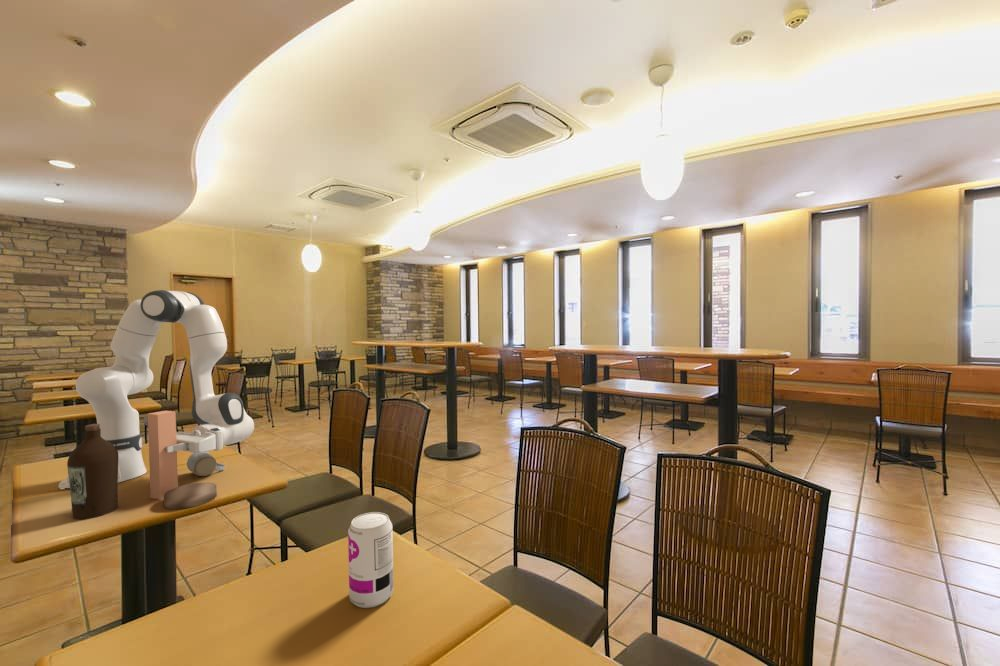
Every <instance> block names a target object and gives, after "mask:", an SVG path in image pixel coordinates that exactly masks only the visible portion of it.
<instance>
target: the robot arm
mask: <svg viewBox="0 0 1000 666" xmlns="http://www.w3.org/2000/svg"><path fill="white" fill-rule="evenodd" d="M164 323H180V324H181V325H182V326H183V327H184V328H185V331H186V336H187V341H188V345H189V350H190V351H189V353H190V357H189V374H190V381H191V389H192V396H193V397H192V399H193V401H192V406H191V415H192V418H193V419H194V420H195V422H197V423H198V424H199V425H196V426H195V427H194V428H193V430H192V431H191V432H189V431H179V432H178V431H176V441H177V445H169V446H166V447H165V452H168V453H169V452H173V451H177V452H188V453H192V454H193V453H202V452H212V451H217V452H218V451H220V450H223V447H224V445H225V446H226V445H227V446H228V445H232V444H236V443H239V442H241V441H244V440H246V439H248V438H249V437H250V436H252V434H253V433H254V431H255V430H254V429H255V423H254V422H255V421H254V420H253V418H252V417H251V416H249V415H248V413H247V412H246V410H245V408H244V402H243V399H242V397H241V396H240V395H238V394H237V393H234V392H226V393H220V394H217V395H216V394H215V392H214V387H213V386H214V385H213V377H212V373H213V372H212V371H213V368H214V367H215V365H216V363H217V362H218V361H219V360H220V359H221V358H223V356H224V355H225V354H226V352H227V351H228V340H227V335H226V332H225V328H224V325H223V322H222V320H221V318H220V315H219V312H218V311H217V309H216V308H215V307H214V306H211V305H208V304H205V302H204V300H203V299H202V298H201V297H200V296H198V295H197V294H195V293H192V292H189V291H188V292H186V291H182V290H175V289H174V290H163V289H158V290H153V291H149V292H148V293H146V294H145V295H144V296H143V297H142V298H141V299H140V298H139V299H136V300H133V301H132V302H131V303H130V304H129V305H128V307H127V309H126V310H125V312H124V313H123V315H122V316H121V318H120V320H119V323H118V325H117V328H116V330H115V332H114V335H113V338H112V340H111V342H110V350H111V351H112V352H113V353H114V355H115V357H114V363H113V364H112V366H104V367H97V368H94V369H91V370H88V371H87V372H83V373H82V374H81V375H79V376H78V377H77V379H76V381H75V391H76V393H77V394H78V395H79V397H80V398H82V399H84V400H85V401H87V402H88V403H89V404H90V406H91V408H92V410H93V411H94V414H95V418H96V424H100V429H101V437H102V438H103V439H104V440H106V441H108V442H109V443H111V444H112V445H114V446H115V447H116V449H117V451H118V456H119V457H118V484H119V483H121V482H125V481H128V480H129V481H130V480H132V479H134V478H139V477H140V476H142V475H144V474H146V473H147V472H148V470H147V468H146V466H145V462H144V459H143V453H142V448H143V438H142V433H141V432H140V413H139V412H138V410H137V409H136V408H134V407H132V405H131V404H130V401H129V399H128V396H129V395H135V394H139V393H141V392H142V391H144V390H146V389H148V388H149V387H150V386H152V384H153V382H154V378H155V377H154V373H153V371H152V369H151V368H150V357H151V352H152V350H153V347H154V344H155V341H156V339H157V337H158V334H159V333H160V332H159V331H160V329H161V328H162V327H161V326H163V324H164ZM57 488H58V489H59V488H70V484H69V475H67V478H65V479H63V480H62V481H60V482H59V483H58V487H57Z"/></svg>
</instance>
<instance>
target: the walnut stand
mask: <svg viewBox="0 0 1000 666" xmlns="http://www.w3.org/2000/svg"><path fill="white" fill-rule="evenodd" d="M217 495H218V491H217V484H216V483H214V482H206V481H205V482H194V483H189V484H185V485H181V486H178V487H177V488H174V489H172V490H169V491H168V492H166V493H165V494H164V499H163V507H164V508H165V509H167V508H169V509H168V510H184V509H190V508H194V507H199V506H202V505H205V504H207V503H209V502H211V500H212V499H213V500H214V499H216V498H217ZM215 497H216V498H215ZM213 500H212V501H213Z"/></svg>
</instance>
